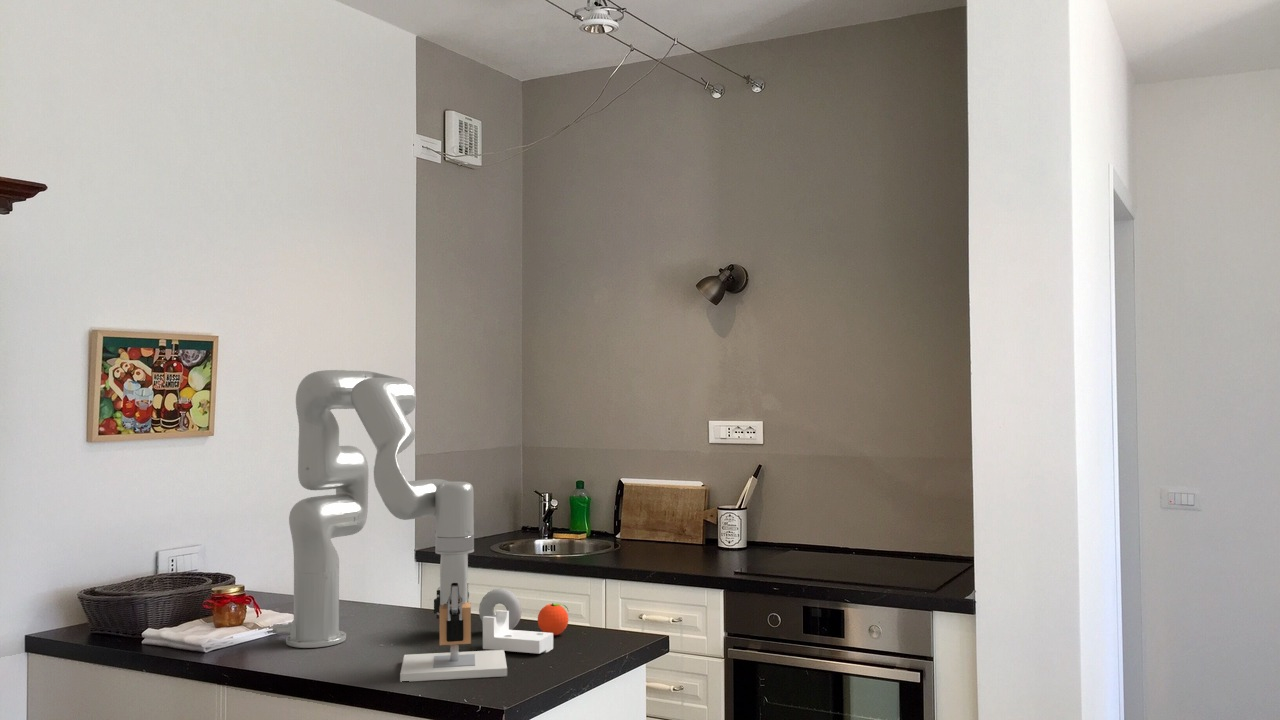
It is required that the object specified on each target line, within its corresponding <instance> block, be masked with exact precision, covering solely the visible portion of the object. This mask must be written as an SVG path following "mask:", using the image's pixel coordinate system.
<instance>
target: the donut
mask: <svg viewBox="0 0 1280 720" xmlns="http://www.w3.org/2000/svg"><path fill="white" fill-rule="evenodd" d="M498 604H499V605H503V606H504V608H505V609H506V611H509V630H514V629H515V628H516V626H517V625H518V624H519V623H520V620H521V619H522V605H521V601H520V600H519V598H518V597H517V595H515V594H514V593H513V591H510V590H508V589H505V588H494V589H491V590H490V591H488V592H487V593H486V594H485V595H483V597H482V598H481V600H480V603H479V608H478V614H479V618H480V621H481V622H482V623H481V624H483V617H484V616H489V617H496V612H495V607H496V606H497V605H498Z"/></svg>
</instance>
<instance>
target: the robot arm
mask: <svg viewBox="0 0 1280 720" xmlns="http://www.w3.org/2000/svg"><path fill="white" fill-rule="evenodd" d="M296 389H297V390H296V393H295V408H296V414H297V420H298V421H297V422H298V450H297V451H298V452H297V456H298V457H297V476H298V477H297V478H298V482H299V484H300V486H301V487H302V488H303V489H306V490H308V491H329V490H335V494H326V495H317V496H310V497H307V498H303V499H301V500H299V501H298V502H296V503H295V504H294V505H293V507H292V508H291V509H290V511H289V514H288V515H289V516H288V524H289V530H290V534H291V535H290V536H291V540H292V549H293V620H292V621H289V622H287V623H284V624H282V623H274V624H273V625H272V634H276V635H285V634H286V635H287V637H286V638H285V644H286V645H287V646H288V647H292V648H302V649H308V648H309V649H313V648H324V647H329V646H334V645H337V644H340V643H343V642H345V641H346V640H347V633H346V632H345V631H342V630H340V616H339V615H340V559H339V554H338V551H337V550H336V547H335V546H334V544H333V542H332V540H331V539H334V538H340V537H346V536H347V537H348V536H353V535H356V534H358V533H359V532H361V531H362V529H363V528H364V527H365V525H366V522H367V518H368V507H369V506H368V505H369V477H370V475H369V465H368V460H367V458H366V456H365V454H364V452H363V451H362V450H361V449H359V448H358V447H357V446H353V445H340V427H339V423H338V420H337V419H336V417H335V414H333V412H332V411H331V410H338V409H339V410H349V409H350V410H353V409H354V410H355V412H356V414H357V416H358V418H359V419H360V422H361V423H362V425H363V427H364V429H365V431H366V432H367V435H368V437H369V438H370V440H371V442H372V444H373V445H374V447H375V450H376V454H375V458H374V462H373V481H374V486H375V487H376V490H377V492H378V494H379V497H380V498H381V500H382V502H383V503H384V505H385V507H386V508H387V510H388V512H389V513H390V514H392V516H394V517H395V519H399V520H402V521H403V520H404V521H406V520H407V521H408V520H414V519H415V520H416V519H422V518H431V517H434V518H435V519H434V521H435V523H434V525H435V527H434V528H435V529H434V533H435V535H434V536H435V537H434V538H435V542H434V543H435V545H434V546H435V547H434V548H435V554H437V555H440V562H439V563H440V564H439V565H440V567H439V569H440V570H439V587H440V604H441V605H442V606H444V604H447V601H448V620H447V641H448V642H453V641H463V620H462V605H463V604H465V601H466V593H467V583H468V576H469V575H468V571H469V566H468V565H469V563H468V562H469V559H468V558H469V554H472V553H474V552H475V530H474V529H475V527H474V525H475V518H474V516H475V513H474V512H475V510H474V509H475V508H474V507H475V506H474V503H475V501H474V500H475V498H474V495H475V494H474V487H473V484H471V483H470V482H468V481H450V480H446V479H441V478H428V479H418V480H409V481H408V480H407V479H406V477H405V475H404V474H403V473H402V470H401V468H400V465H399V463H398V455H399V454H400V453H402V452H403V451H406V449H407V448H409V446H411V445H412V443H413V442H414V440H415V437H416V433H415V432H416V431H415V430H414V428H413V426H412V424H411V422H410V421H409V419H408V418H407V416H408V415H409V414H411V413H412V412H413V411H414V410H415V408H416V406H417V393H416V390H415V388H414V386H412V383H410V382H409V381H408V380H406V379H405V378H402V377H397V376H393V375H388V374H383V373H380V372H376V371H368V370H343V369H329V370H328V369H326V370H325V369H324V370H319V371H314V372H311V373H308V374H307V375H306V376H305V377H303V378H302V380H301V381H300V383H299V384H298V386H297V388H296ZM450 603H452V604H450ZM458 603H460V604H458ZM458 607H459V608H458ZM450 608H452V609H451V610H450ZM450 614H451V617H450ZM450 619H451V620H450Z"/></svg>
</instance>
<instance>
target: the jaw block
mask: <svg viewBox="0 0 1280 720" xmlns="http://www.w3.org/2000/svg"><path fill="white" fill-rule="evenodd" d="M450 604H452V603H450ZM458 604H460V603H458ZM471 607H472V605H471V602H468V603H465V604H463V605H462V620H463V641H453V642H448V641H447V620H448V604H444V606H442V605H441V604H440V609H439V618H440V619H439V646H450V645H455V644H459V645H468V644H469V645H470V644H472V621H471V620H472V616H471V615H472V610H471V609H472V608H471ZM458 608H459V607H458ZM451 609H452V608H450V610H451ZM450 617H451V614H450ZM450 620H451V619H450Z"/></svg>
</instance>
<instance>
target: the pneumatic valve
mask: <svg viewBox="0 0 1280 720" xmlns="http://www.w3.org/2000/svg"><path fill="white" fill-rule="evenodd" d="M469 599H470V593H469V582H467V593H466V601H465V603H469ZM447 604H448V601H447ZM439 609H440V586H439V587H437V589H436V598H434V599H433V614H434V615H435V614H436V619H439V620H440V618H439Z"/></svg>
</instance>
